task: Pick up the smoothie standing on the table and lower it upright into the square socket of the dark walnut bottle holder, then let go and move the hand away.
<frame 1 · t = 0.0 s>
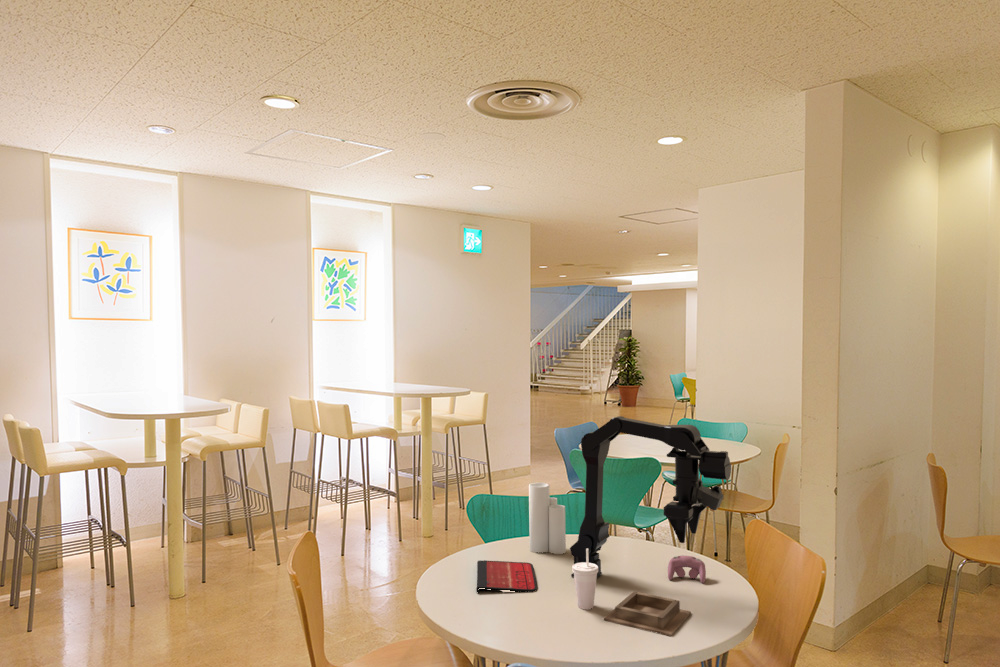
hand: (688, 537, 167), 15 cm above the table, tool pointing down, fingers open, 9 cm apart
smoothie: (585, 607, 162), on the table
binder: (506, 581, 181), on the table
vase: (547, 550, 205), on the table
bottle holder: (647, 616, 155), on the table
video game controller: (686, 579, 179), on the table
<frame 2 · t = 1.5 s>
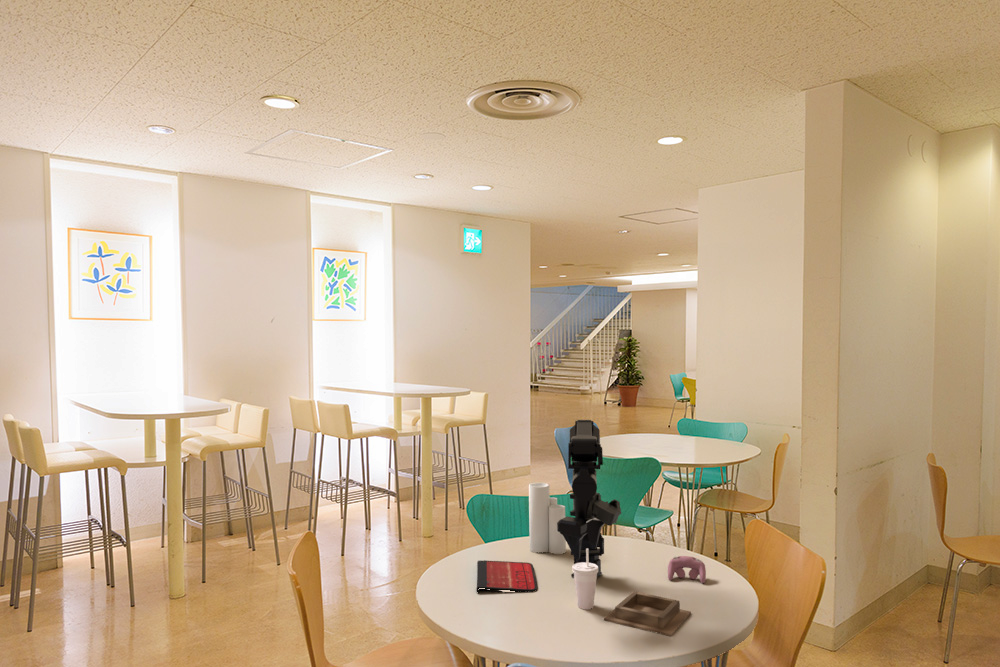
hand: (585, 553, 162), 13 cm above the table, tool pointing down, fingers open, 9 cm apart
nothing on the table moved.
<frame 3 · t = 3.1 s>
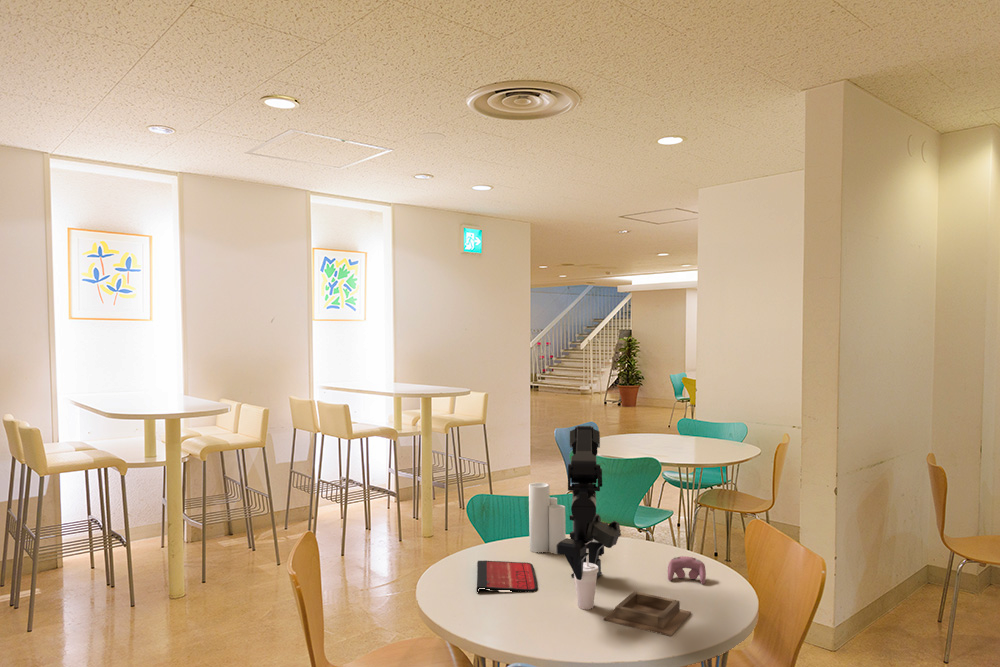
hand: (585, 575, 162), 8 cm above the table, tool pointing down, fingers closed on smoothie, 6 cm apart
smoothie: (585, 607, 162), on the table, touching gripper
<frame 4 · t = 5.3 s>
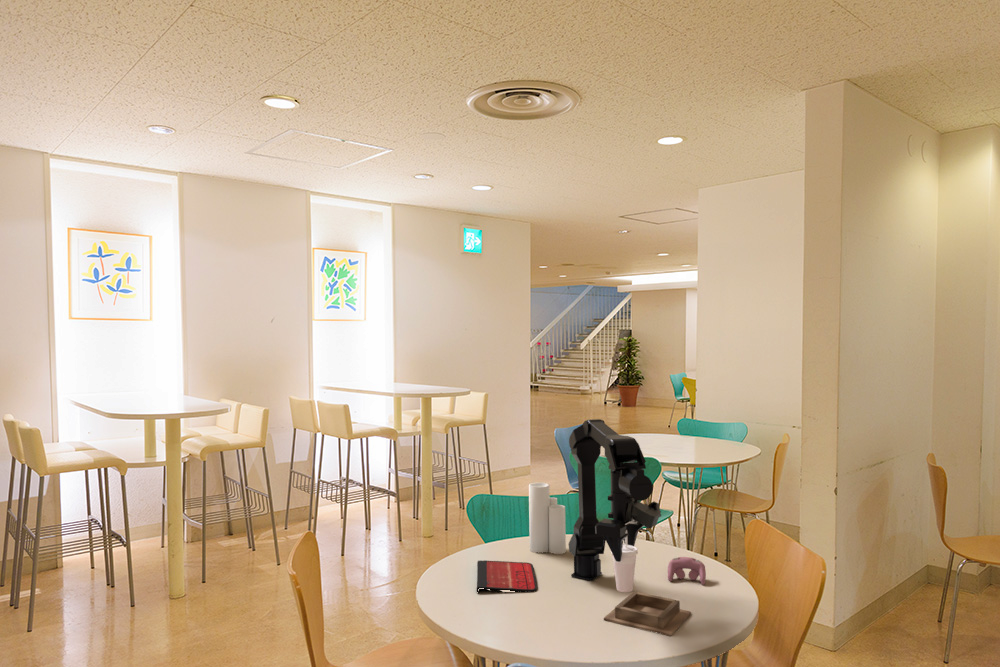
hand: (624, 557, 157), 13 cm above the table, tool pointing down, fingers closed on smoothie, 6 cm apart
smoothie: (624, 590, 157), point 6 cm above the table, touching gripper
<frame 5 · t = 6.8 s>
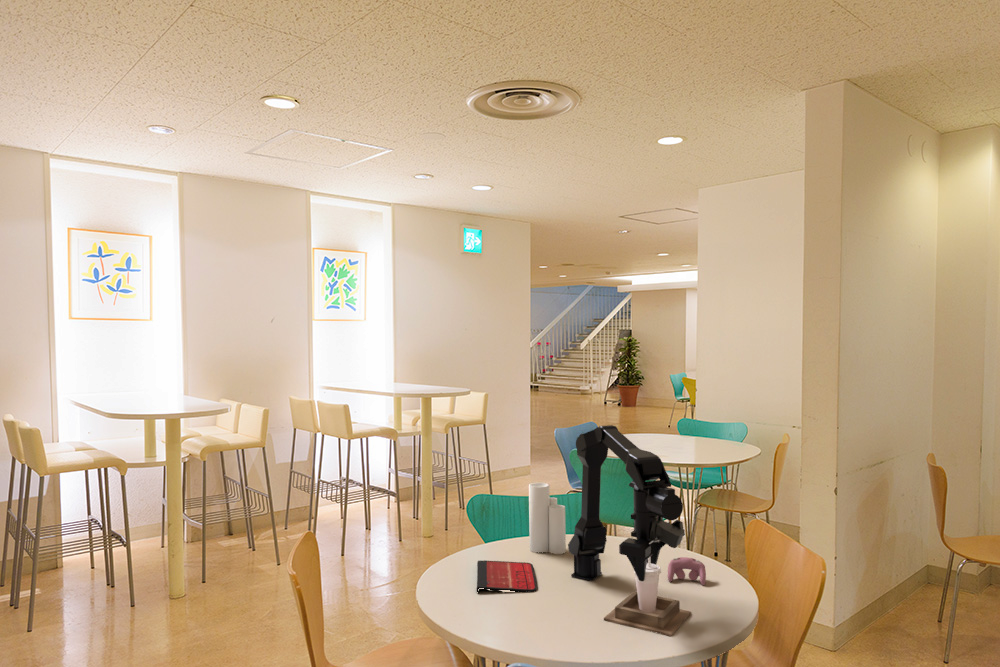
hand: (646, 576, 155), 9 cm above the table, tool pointing down, fingers closed on smoothie, 6 cm apart
smoothie: (647, 609, 155), point 2 cm above the table, touching gripper
when the fingers open (9 cm above the table, at t = 7.8 s): smoothie stays where it is, resting on bottle holder.
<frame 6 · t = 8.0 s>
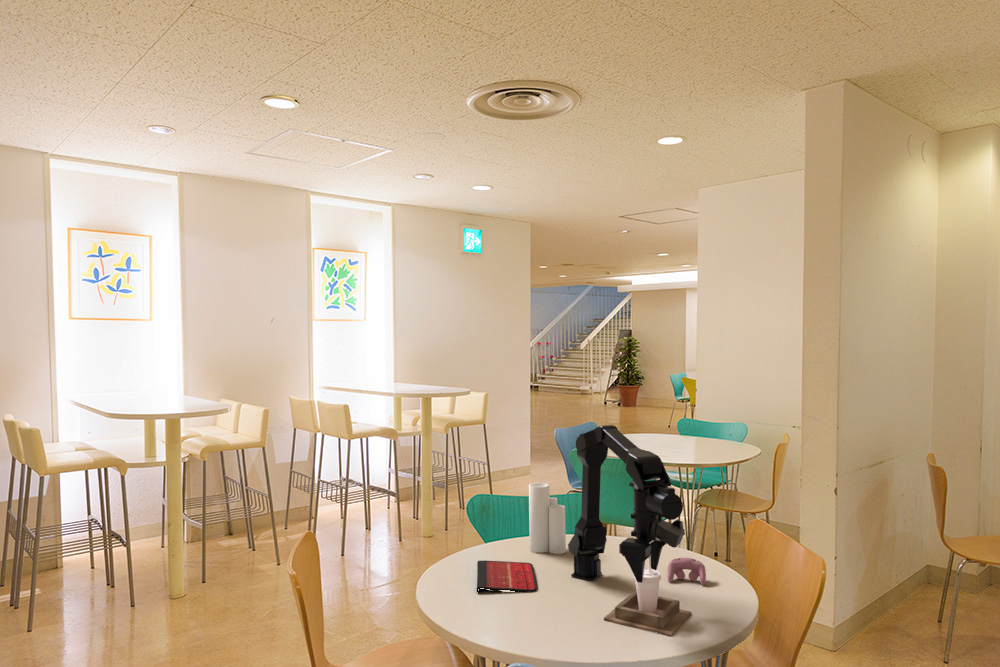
hand: (647, 576, 155), 9 cm above the table, tool pointing down, fingers open, 9 cm apart
smoothie: (647, 615, 155), resting on bottle holder
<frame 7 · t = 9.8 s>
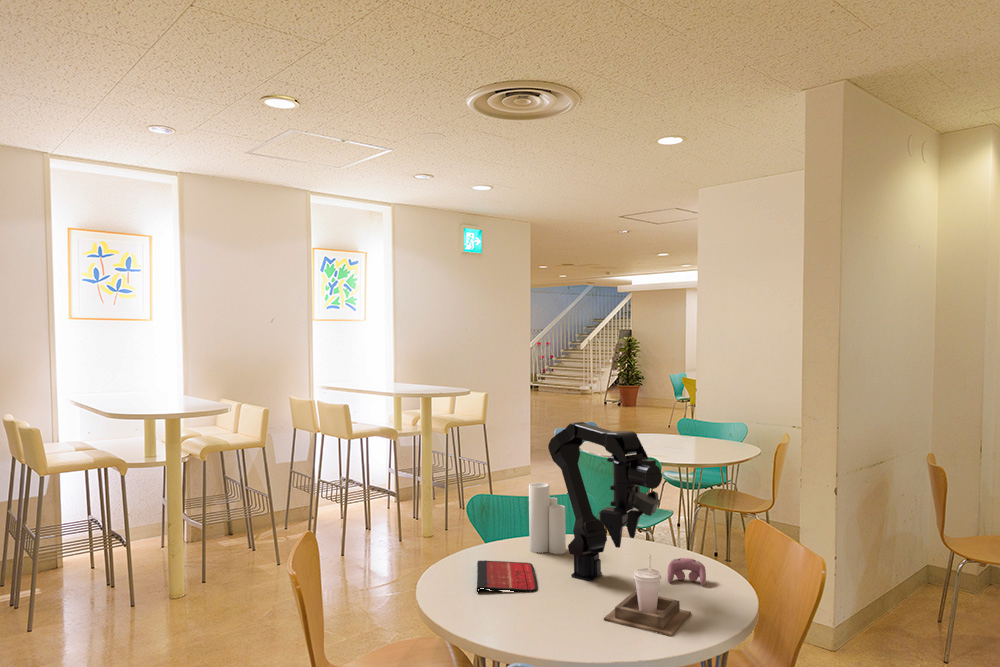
hand: (625, 542, 170), 13 cm above the table, tool pointing down, fingers open, 9 cm apart
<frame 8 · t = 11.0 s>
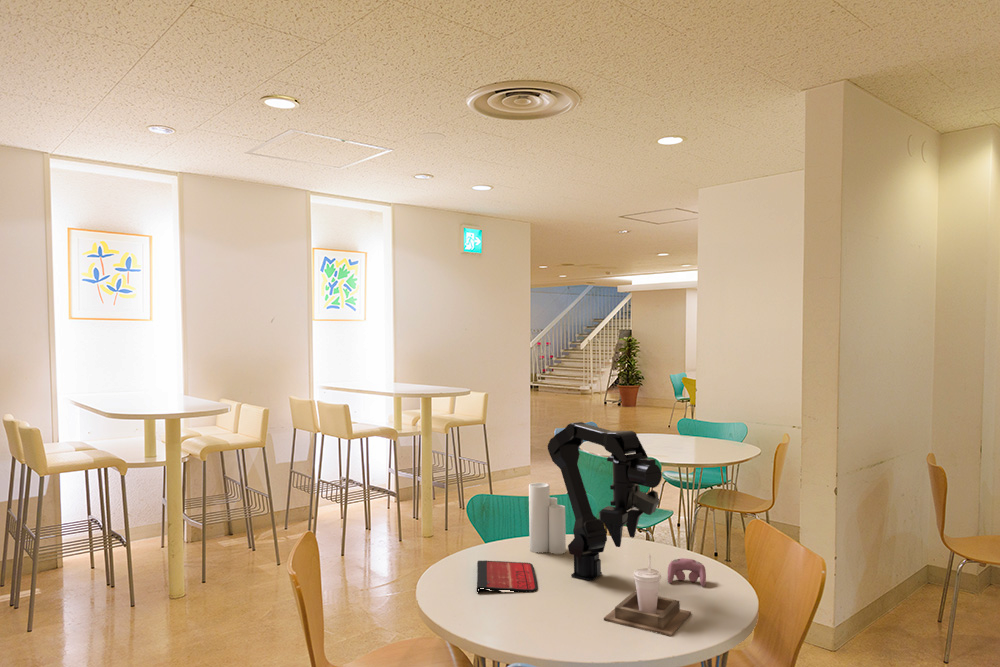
hand: (625, 541, 170), 13 cm above the table, tool pointing down, fingers open, 9 cm apart
at the end: smoothie 0.2 cm off-centre on the bottle holder, point 0.3 cm above the bottle holder's base; smoothie tilted 0°; the gripper is holding nothing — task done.
